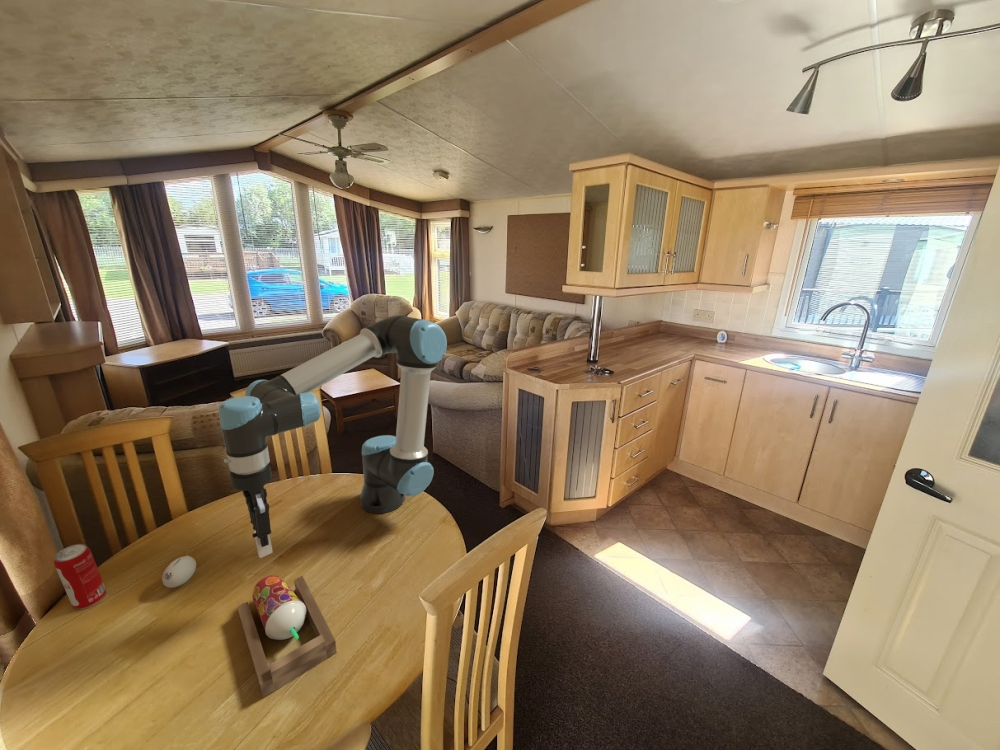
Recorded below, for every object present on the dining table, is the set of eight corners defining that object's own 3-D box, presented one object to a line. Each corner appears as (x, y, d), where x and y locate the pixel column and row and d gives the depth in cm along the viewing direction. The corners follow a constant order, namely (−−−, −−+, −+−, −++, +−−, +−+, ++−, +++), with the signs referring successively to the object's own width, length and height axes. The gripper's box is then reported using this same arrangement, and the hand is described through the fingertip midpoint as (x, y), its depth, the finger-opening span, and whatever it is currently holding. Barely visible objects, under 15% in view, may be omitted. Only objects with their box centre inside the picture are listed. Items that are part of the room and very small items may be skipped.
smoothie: (265, 608, 96) (295, 662, 83) (238, 597, 91) (265, 653, 78) (292, 576, 100) (325, 624, 87) (267, 564, 95) (298, 612, 82)
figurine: (181, 571, 103) (175, 550, 101) (205, 570, 103) (200, 549, 101) (158, 596, 95) (152, 574, 93) (184, 596, 96) (178, 574, 94)
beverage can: (106, 586, 98) (90, 536, 93) (107, 602, 93) (90, 551, 89) (72, 599, 94) (53, 548, 89) (70, 617, 89) (50, 565, 85)
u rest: (304, 586, 100) (301, 570, 99) (336, 652, 84) (334, 635, 83) (239, 617, 91) (236, 601, 90) (263, 698, 75) (259, 679, 74)
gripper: (223, 460, 88) (240, 545, 95) (236, 486, 79) (254, 578, 86) (261, 449, 92) (275, 532, 100) (277, 473, 84) (291, 561, 91)
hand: (265, 553), depth 93 cm, fingers closed
